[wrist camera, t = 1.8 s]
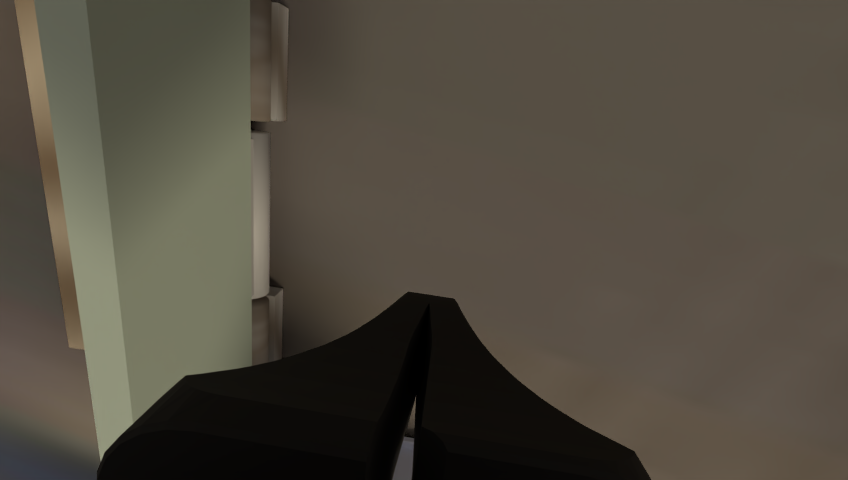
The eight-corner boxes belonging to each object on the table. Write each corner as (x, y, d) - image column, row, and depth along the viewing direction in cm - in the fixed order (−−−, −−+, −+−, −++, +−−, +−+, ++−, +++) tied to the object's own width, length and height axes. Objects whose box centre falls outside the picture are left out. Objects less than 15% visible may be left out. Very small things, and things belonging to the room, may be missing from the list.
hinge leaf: (242, 374, 22) (272, 377, 22) (106, 570, 13) (159, 575, 13) (237, -8, 17) (277, -3, 17) (-7, -158, 7) (86, -145, 7)
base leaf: (281, 367, 23) (259, 398, 20) (88, 335, 24) (44, 362, 21) (288, 3, 18) (259, -15, 15) (37, -26, 18) (-30, -48, 16)
